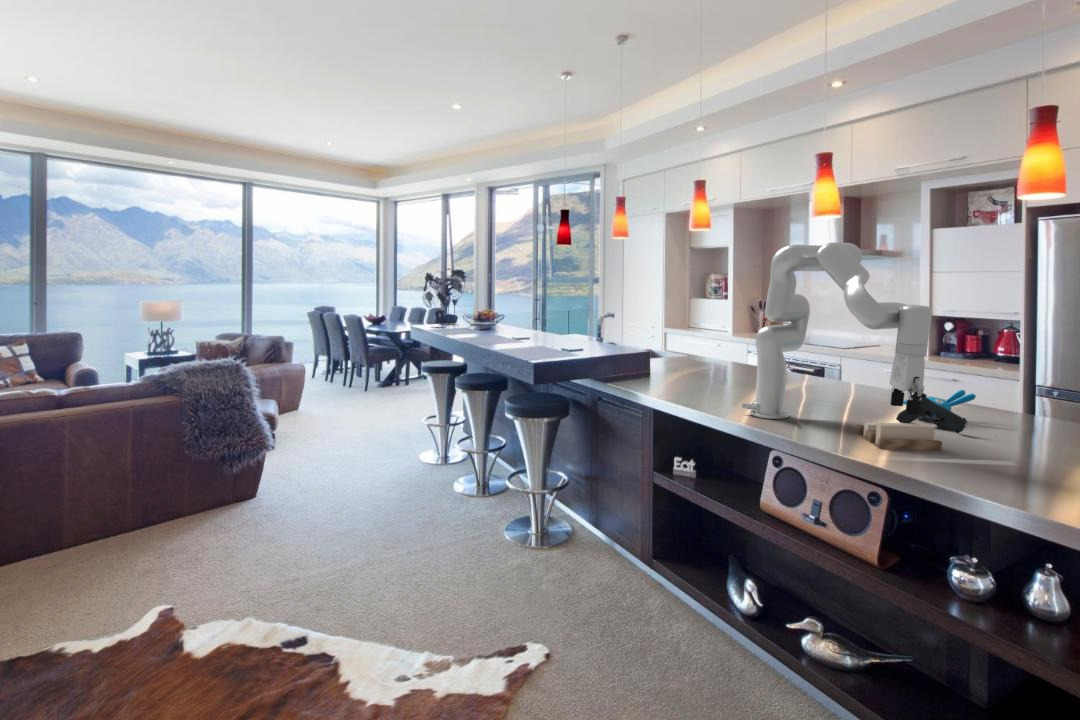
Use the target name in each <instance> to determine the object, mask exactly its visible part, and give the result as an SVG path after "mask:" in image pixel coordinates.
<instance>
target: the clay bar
mask: <svg viewBox="0 0 1080 720" xmlns="http://www.w3.org/2000/svg"><path fill="white" fill-rule="evenodd" d="M876 423H877V427H876V440H875V444H877V443H878V438H879V439H910V440H935V439H934V438H935V428H936V427H935V426H933V425H931V424H929V423H928V424H925V423H923V424H921V423H910V424H906V423H904V424H895V423H896V422H895V423H894V422H876Z"/></svg>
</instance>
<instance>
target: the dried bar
mask: <svg viewBox="0 0 1080 720" xmlns="http://www.w3.org/2000/svg"><path fill="white" fill-rule="evenodd" d="M877 423H878V422H870V421H869V422H868V421H867V422H865V421H864V424H863V425H864V434H863V435H864V436H865V431H866V430H869V431H876V427H877ZM895 424H905V423H900V422H899V423H897V422H895Z"/></svg>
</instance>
